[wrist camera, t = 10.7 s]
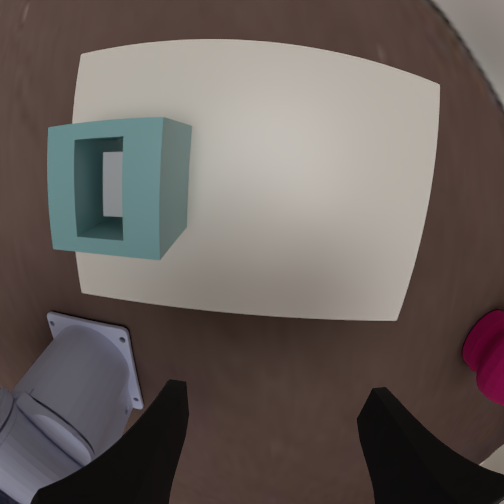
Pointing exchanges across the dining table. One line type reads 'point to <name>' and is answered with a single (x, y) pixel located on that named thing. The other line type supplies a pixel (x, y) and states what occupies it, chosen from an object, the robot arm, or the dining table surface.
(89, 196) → the teal square tube
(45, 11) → the dining table surface
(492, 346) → the pepper mill
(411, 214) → the key plate
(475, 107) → the dining table surface
